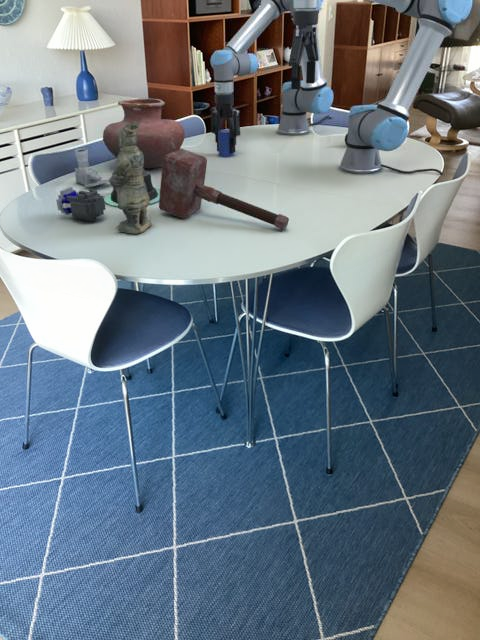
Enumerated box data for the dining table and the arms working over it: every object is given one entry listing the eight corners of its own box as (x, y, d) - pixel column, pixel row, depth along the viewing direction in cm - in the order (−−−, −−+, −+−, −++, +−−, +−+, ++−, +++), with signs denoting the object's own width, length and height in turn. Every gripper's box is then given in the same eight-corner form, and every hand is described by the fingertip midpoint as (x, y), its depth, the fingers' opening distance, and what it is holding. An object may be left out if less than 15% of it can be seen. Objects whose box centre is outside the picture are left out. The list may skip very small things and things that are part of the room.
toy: (69, 184, 172) (107, 190, 166) (73, 210, 176) (111, 217, 170) (49, 192, 165) (88, 198, 160) (54, 219, 170) (93, 226, 164)
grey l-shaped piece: (86, 146, 202) (111, 153, 193) (91, 178, 208) (115, 186, 199) (65, 151, 196) (90, 158, 187) (70, 183, 202) (95, 192, 193)
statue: (131, 220, 168) (117, 116, 152) (158, 224, 164) (147, 118, 149) (109, 233, 159) (93, 124, 144) (138, 237, 156) (124, 126, 140)
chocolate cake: (91, 202, 180) (113, 186, 197) (142, 231, 182) (160, 212, 199) (107, 162, 172) (129, 148, 190) (160, 192, 174) (177, 176, 192)
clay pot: (194, 158, 230) (190, 94, 217) (174, 179, 204) (168, 107, 192) (124, 156, 235) (116, 93, 222) (96, 176, 209) (85, 106, 197)
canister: (218, 154, 236) (217, 129, 231) (232, 153, 237) (232, 129, 232) (219, 157, 231) (218, 132, 226) (234, 156, 232) (233, 132, 227)
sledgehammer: (299, 190, 156) (179, 147, 167) (285, 200, 148) (161, 154, 160) (286, 244, 166) (174, 200, 177) (272, 256, 158) (156, 209, 170)
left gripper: (199, 92, 224) (202, 150, 236) (237, 96, 214) (238, 156, 226) (211, 90, 229) (214, 147, 241) (249, 93, 219) (249, 153, 231)
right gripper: (308, 8, 177) (305, 80, 188) (278, 11, 158) (277, 91, 169) (330, 8, 174) (326, 81, 185) (303, 11, 155) (300, 92, 166)
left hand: (226, 151), depth 233 cm, fingers closed on canister, 6 cm apart
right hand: (303, 86), depth 177 cm, fingers open, 13 cm apart
